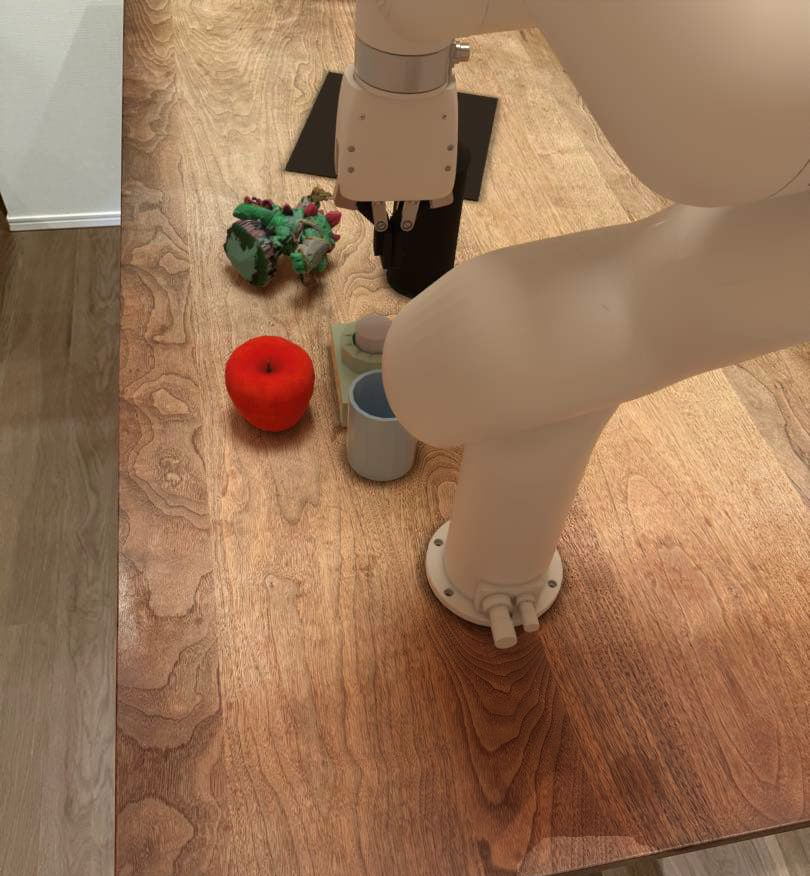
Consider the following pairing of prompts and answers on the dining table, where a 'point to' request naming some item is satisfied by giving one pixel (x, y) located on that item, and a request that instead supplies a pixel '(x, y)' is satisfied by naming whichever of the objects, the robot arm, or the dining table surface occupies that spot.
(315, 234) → the figurine
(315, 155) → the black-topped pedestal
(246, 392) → the apple
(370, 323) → the round grey push button
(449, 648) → the dining table surface
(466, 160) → the aerosol can
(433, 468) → the dining table surface
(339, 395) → the push button box
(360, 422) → the cup
